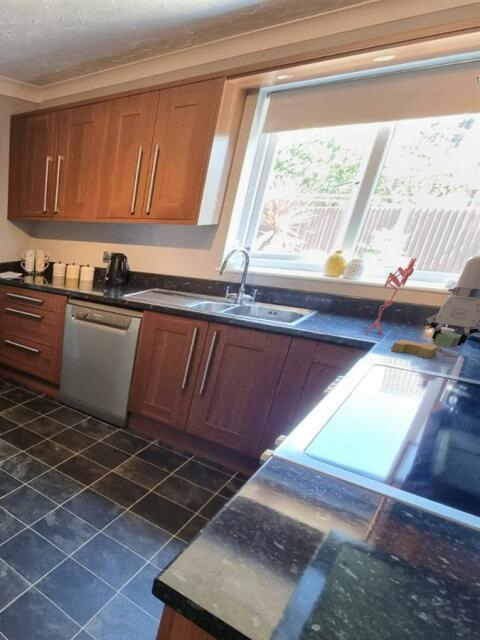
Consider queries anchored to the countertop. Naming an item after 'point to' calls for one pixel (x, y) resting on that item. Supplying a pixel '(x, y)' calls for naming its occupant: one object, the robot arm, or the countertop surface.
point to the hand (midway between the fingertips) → (446, 342)
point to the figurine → (404, 274)
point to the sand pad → (414, 348)
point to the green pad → (447, 339)
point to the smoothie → (443, 329)
